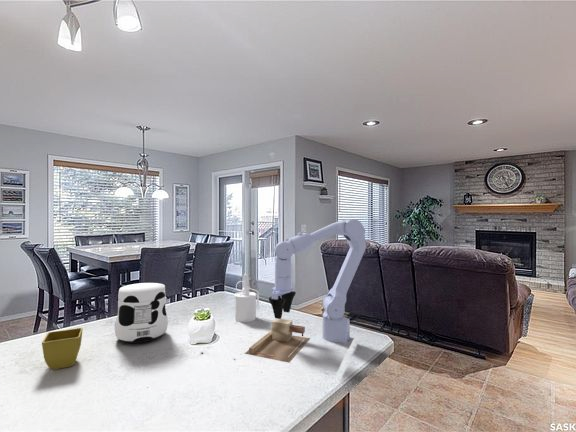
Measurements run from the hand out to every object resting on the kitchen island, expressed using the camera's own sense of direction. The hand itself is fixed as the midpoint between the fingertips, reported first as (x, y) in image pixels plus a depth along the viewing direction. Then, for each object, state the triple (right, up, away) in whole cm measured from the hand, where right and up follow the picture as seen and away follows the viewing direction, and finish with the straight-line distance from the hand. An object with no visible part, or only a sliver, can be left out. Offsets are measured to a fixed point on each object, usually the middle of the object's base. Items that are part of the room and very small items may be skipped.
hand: (282, 315), depth 111 cm
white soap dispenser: (-15, -10, +21) cm, 28 cm away
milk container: (-51, -9, +3) cm, 51 cm away
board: (-1, -10, -6) cm, 11 cm away
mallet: (+2, -8, -1) cm, 9 cm away
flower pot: (-64, -9, -19) cm, 67 cm away
